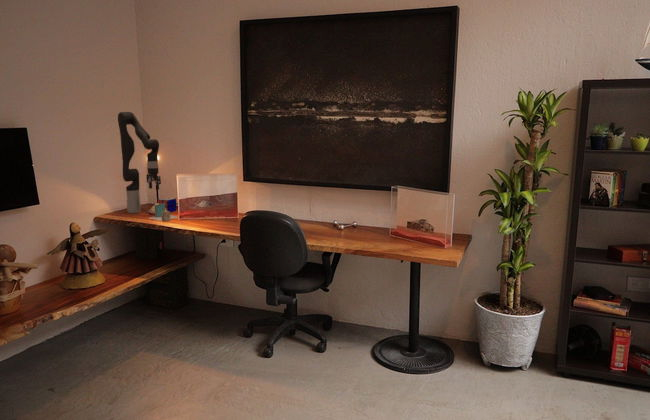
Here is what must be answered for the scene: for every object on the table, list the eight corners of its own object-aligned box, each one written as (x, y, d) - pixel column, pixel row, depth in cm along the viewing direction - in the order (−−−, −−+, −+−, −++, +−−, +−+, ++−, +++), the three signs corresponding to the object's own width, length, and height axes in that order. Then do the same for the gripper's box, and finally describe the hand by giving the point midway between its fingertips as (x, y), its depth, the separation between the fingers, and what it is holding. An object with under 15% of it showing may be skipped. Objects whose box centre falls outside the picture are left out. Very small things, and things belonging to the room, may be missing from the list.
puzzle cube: (168, 213, 394) (167, 200, 392) (158, 212, 399) (157, 199, 397) (177, 211, 403) (176, 198, 401) (167, 209, 408) (166, 197, 406)
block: (161, 221, 368) (161, 211, 366) (166, 220, 371) (166, 210, 369) (165, 222, 365) (164, 212, 364) (170, 221, 368) (169, 211, 367)
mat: (147, 218, 377) (147, 217, 377) (166, 214, 389) (166, 214, 389) (160, 221, 367) (160, 220, 367) (179, 217, 380) (179, 216, 380)
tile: (155, 217, 380) (154, 204, 378) (164, 215, 386) (163, 203, 384) (156, 217, 378) (155, 205, 377) (166, 215, 385) (165, 203, 383)
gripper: (142, 166, 380) (144, 188, 383) (154, 168, 371) (155, 191, 374) (151, 165, 385) (153, 187, 389) (163, 167, 377) (164, 189, 380)
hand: (154, 189), depth 381 cm, fingers open, 8 cm apart
